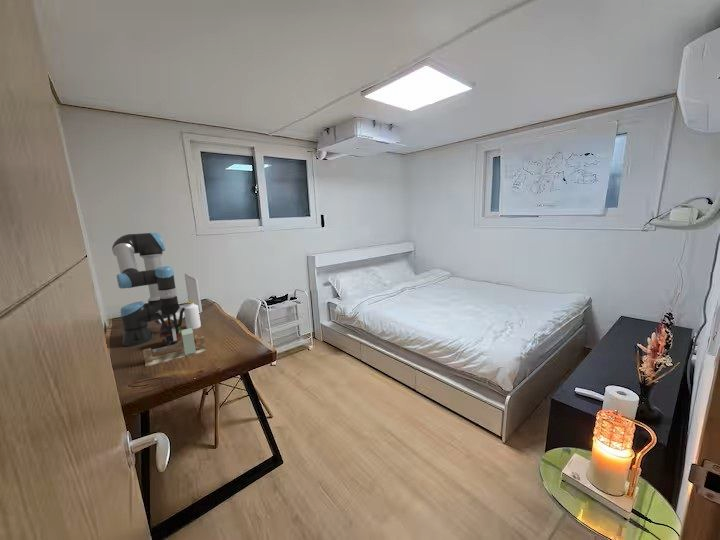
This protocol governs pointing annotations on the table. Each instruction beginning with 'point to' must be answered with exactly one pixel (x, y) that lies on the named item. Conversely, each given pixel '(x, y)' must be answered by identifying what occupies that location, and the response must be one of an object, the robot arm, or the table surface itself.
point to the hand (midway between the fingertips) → (175, 339)
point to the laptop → (190, 295)
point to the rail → (171, 356)
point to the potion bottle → (192, 315)
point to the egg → (166, 336)
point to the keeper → (188, 341)
